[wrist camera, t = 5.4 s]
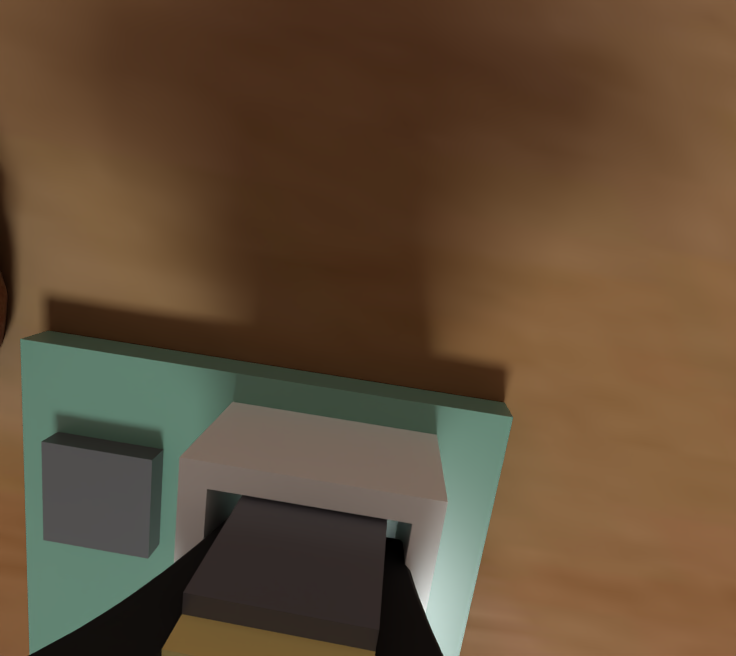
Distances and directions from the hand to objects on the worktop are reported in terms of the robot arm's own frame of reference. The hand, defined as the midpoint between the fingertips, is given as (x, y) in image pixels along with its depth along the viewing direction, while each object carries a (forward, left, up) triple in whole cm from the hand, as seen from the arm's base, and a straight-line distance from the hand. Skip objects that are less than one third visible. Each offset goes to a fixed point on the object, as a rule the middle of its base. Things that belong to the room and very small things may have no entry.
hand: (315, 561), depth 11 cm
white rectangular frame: (0, 0, -2) cm, 2 cm away
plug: (0, 0, -1) cm, 1 cm away
